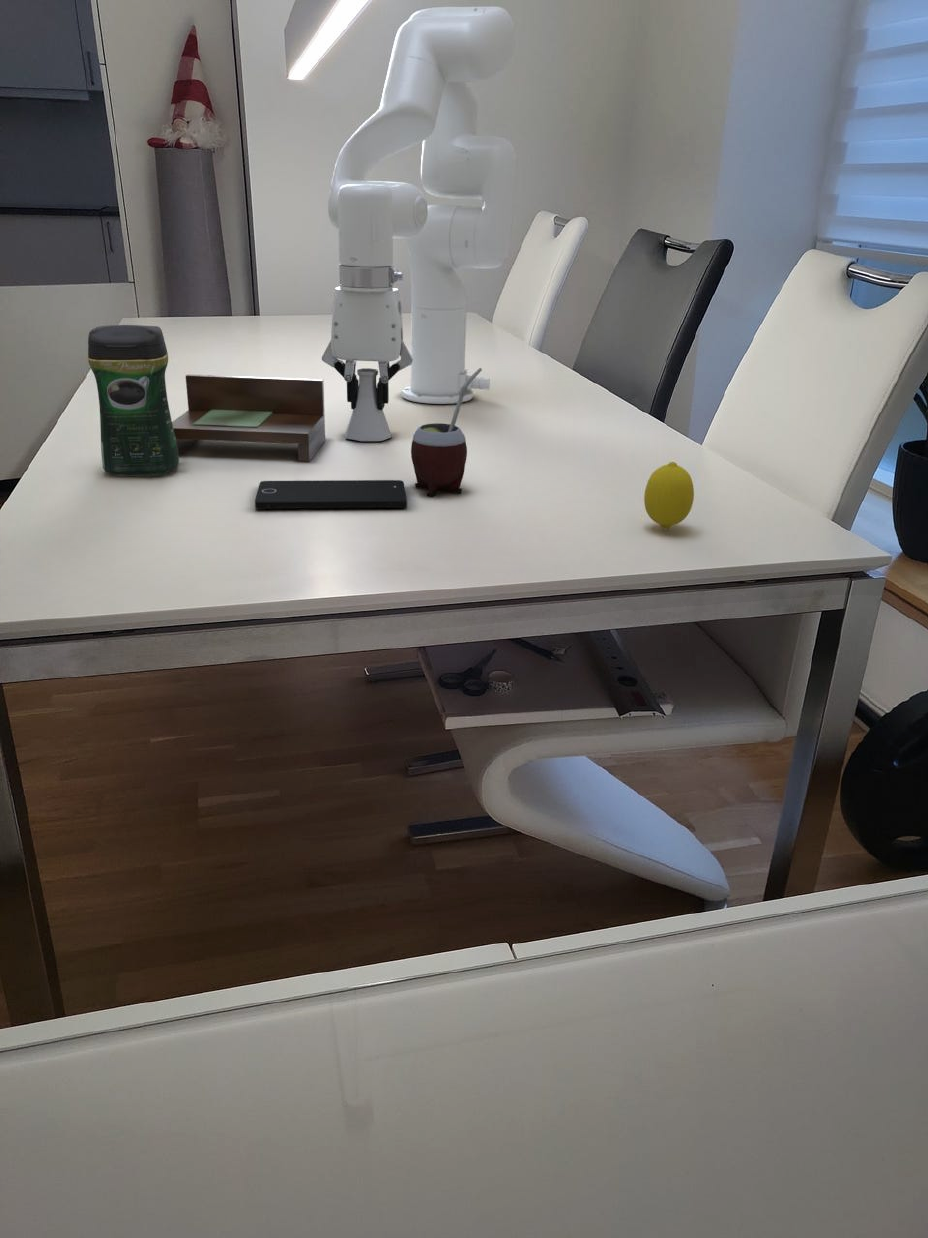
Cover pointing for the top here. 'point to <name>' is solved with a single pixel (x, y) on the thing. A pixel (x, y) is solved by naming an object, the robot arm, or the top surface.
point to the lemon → (669, 495)
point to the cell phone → (331, 494)
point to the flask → (367, 411)
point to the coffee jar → (133, 399)
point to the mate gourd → (441, 453)
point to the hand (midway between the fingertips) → (368, 406)
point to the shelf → (253, 412)
